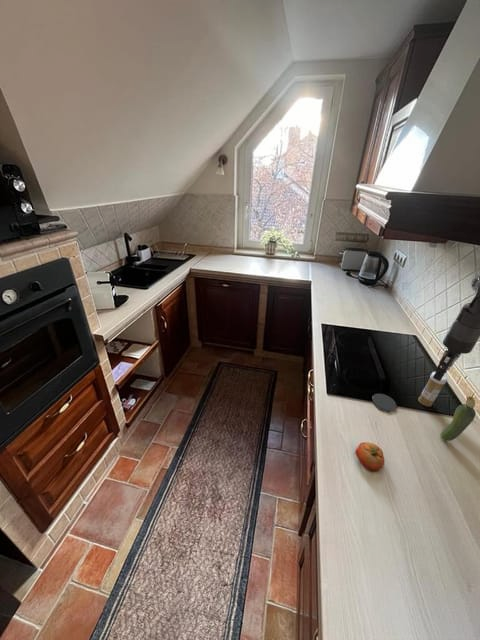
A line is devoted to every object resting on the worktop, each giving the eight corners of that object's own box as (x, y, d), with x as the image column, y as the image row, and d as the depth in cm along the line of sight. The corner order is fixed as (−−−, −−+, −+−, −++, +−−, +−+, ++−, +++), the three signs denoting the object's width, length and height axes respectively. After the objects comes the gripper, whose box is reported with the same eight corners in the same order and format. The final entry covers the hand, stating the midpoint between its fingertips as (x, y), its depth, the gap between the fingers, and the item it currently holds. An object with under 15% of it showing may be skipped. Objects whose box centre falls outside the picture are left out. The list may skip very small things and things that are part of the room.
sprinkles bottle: (415, 397, 97) (429, 370, 91) (427, 398, 97) (442, 371, 90) (421, 406, 93) (436, 379, 87) (434, 407, 93) (450, 380, 86)
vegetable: (453, 439, 82) (484, 395, 72) (454, 450, 79) (488, 406, 69) (436, 433, 84) (465, 389, 74) (437, 443, 81) (467, 399, 71)
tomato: (359, 470, 71) (363, 443, 73) (349, 461, 78) (352, 436, 79) (388, 477, 71) (391, 450, 72) (375, 467, 78) (378, 443, 79)
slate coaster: (388, 394, 98) (388, 393, 98) (400, 411, 91) (400, 410, 91) (368, 395, 98) (368, 393, 97) (378, 412, 91) (379, 410, 91)
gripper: (471, 349, 73) (446, 389, 82) (483, 333, 81) (459, 371, 90) (441, 337, 78) (421, 376, 87) (455, 323, 86) (435, 360, 95)
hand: (440, 373), depth 88 cm, fingers open, 8 cm apart
